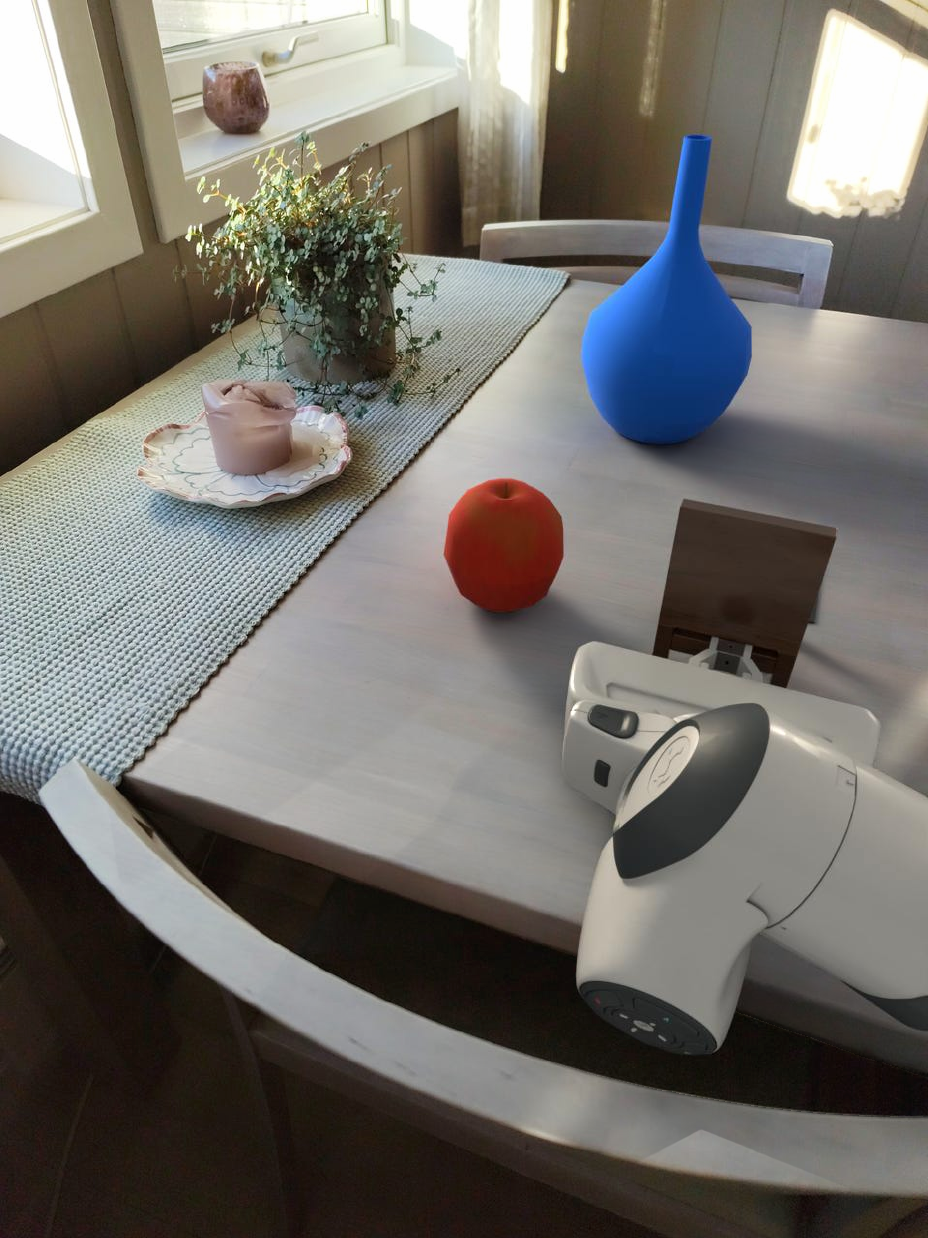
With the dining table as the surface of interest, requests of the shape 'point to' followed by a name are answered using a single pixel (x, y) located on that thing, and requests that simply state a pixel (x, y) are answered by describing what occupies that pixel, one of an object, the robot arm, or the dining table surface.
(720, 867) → the robot arm
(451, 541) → the apple
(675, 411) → the vase
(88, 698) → the dining table surface
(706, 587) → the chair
